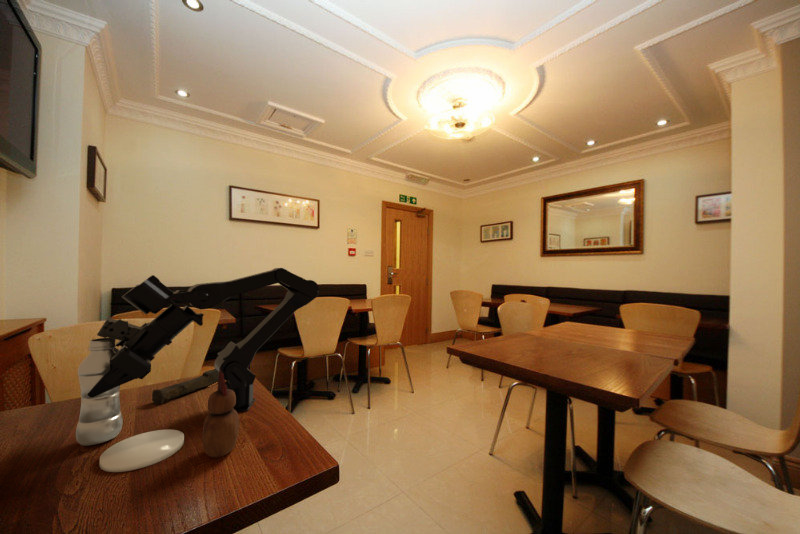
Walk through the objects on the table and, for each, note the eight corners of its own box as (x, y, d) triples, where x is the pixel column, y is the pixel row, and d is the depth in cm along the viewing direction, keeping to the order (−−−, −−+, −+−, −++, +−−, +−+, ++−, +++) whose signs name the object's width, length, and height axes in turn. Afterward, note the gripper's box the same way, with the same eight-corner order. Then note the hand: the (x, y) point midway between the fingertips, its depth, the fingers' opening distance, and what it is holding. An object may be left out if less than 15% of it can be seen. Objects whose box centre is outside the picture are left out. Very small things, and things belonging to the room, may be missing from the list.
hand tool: (159, 407, 76) (160, 388, 76) (150, 404, 77) (151, 385, 78) (229, 383, 93) (229, 367, 93) (220, 381, 95) (220, 366, 95)
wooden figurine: (206, 445, 59) (208, 367, 59) (239, 439, 61) (241, 364, 62) (198, 465, 53) (201, 378, 53) (236, 458, 55) (238, 374, 55)
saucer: (195, 432, 64) (196, 427, 64) (160, 468, 52) (160, 462, 52) (131, 436, 62) (131, 431, 62) (79, 475, 50) (79, 469, 50)
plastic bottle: (129, 436, 62) (132, 337, 62) (83, 454, 56) (87, 344, 56) (113, 429, 64) (116, 334, 65) (68, 445, 58) (72, 341, 59)
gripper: (131, 300, 70) (58, 356, 63) (129, 307, 56) (35, 381, 49) (172, 331, 75) (109, 386, 68) (180, 344, 61) (102, 416, 54)
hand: (91, 391), depth 59 cm, fingers closed on plastic bottle, 6 cm apart
